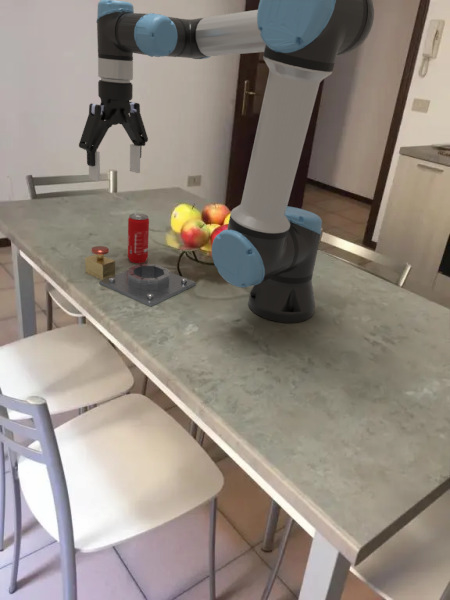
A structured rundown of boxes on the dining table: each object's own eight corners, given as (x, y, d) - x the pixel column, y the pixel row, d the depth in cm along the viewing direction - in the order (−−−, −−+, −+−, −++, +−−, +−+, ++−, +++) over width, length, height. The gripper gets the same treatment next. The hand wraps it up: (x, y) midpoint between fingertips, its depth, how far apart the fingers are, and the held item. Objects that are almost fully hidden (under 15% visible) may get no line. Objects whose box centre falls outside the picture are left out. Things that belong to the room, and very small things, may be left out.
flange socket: (195, 285, 126) (196, 272, 124) (150, 306, 114) (151, 293, 112) (146, 265, 133) (146, 253, 132) (99, 283, 121) (99, 270, 120)
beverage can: (137, 265, 133) (138, 220, 127) (123, 259, 135) (123, 215, 130) (151, 260, 137) (153, 217, 131) (137, 255, 139) (138, 211, 134)
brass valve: (115, 275, 126) (115, 250, 123) (102, 280, 123) (102, 254, 120) (98, 268, 129) (97, 243, 126) (85, 273, 126) (84, 247, 123)
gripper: (140, 78, 127) (138, 166, 136) (59, 78, 107) (63, 180, 117) (164, 82, 123) (161, 171, 133) (85, 82, 104) (87, 187, 113)
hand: (115, 175), depth 125 cm, fingers open, 13 cm apart
